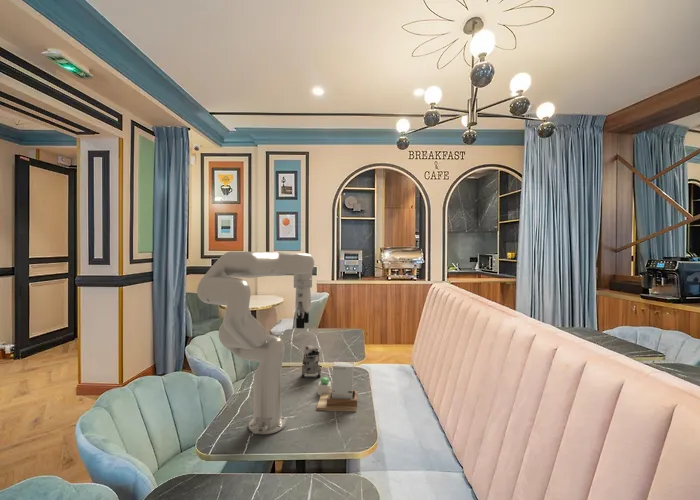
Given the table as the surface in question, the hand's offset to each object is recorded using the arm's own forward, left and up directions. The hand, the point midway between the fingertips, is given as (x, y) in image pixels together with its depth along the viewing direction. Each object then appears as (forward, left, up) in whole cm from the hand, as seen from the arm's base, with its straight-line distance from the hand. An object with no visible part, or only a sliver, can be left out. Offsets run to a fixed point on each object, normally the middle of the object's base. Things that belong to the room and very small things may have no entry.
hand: (302, 325), depth 144 cm
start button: (+6, -9, -29) cm, 31 cm away
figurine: (+23, 0, -31) cm, 38 cm away
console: (+7, -8, -30) cm, 32 cm away
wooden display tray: (-3, -15, -30) cm, 34 cm away
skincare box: (-3, -17, -30) cm, 34 cm away
